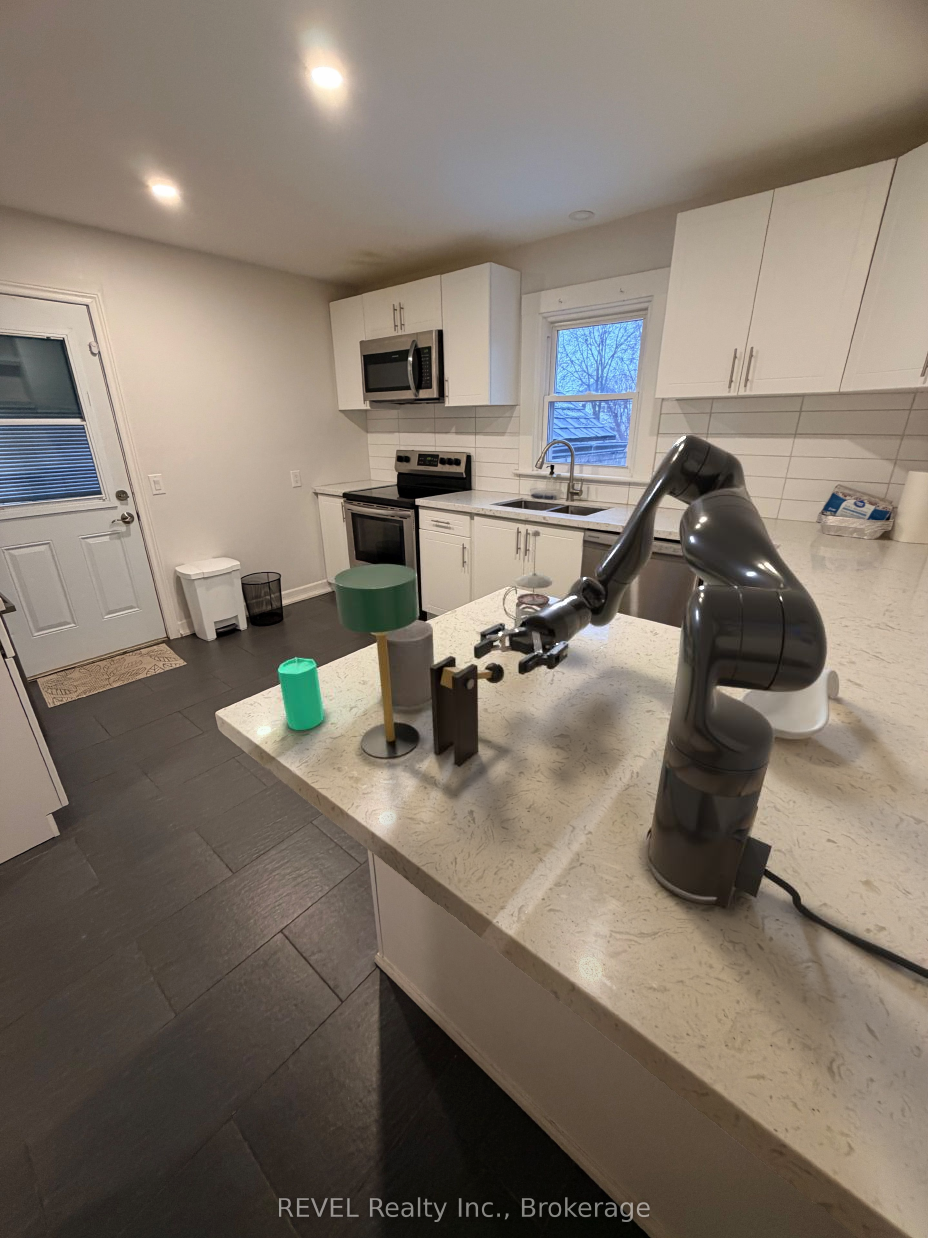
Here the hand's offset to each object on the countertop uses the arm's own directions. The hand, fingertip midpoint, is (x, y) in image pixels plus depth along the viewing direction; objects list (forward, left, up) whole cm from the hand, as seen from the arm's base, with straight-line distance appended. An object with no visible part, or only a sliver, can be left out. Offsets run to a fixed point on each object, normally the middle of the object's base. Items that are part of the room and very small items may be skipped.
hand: (497, 660), depth 77 cm
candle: (+27, +18, -13) cm, 35 cm away
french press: (+15, -33, -13) cm, 38 cm away
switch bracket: (0, +10, -12) cm, 16 cm away
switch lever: (0, +6, -2) cm, 6 cm away
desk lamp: (+8, +14, -12) cm, 21 cm away
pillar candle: (+18, +2, -13) cm, 22 cm away
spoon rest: (-37, -34, -13) cm, 52 cm away
